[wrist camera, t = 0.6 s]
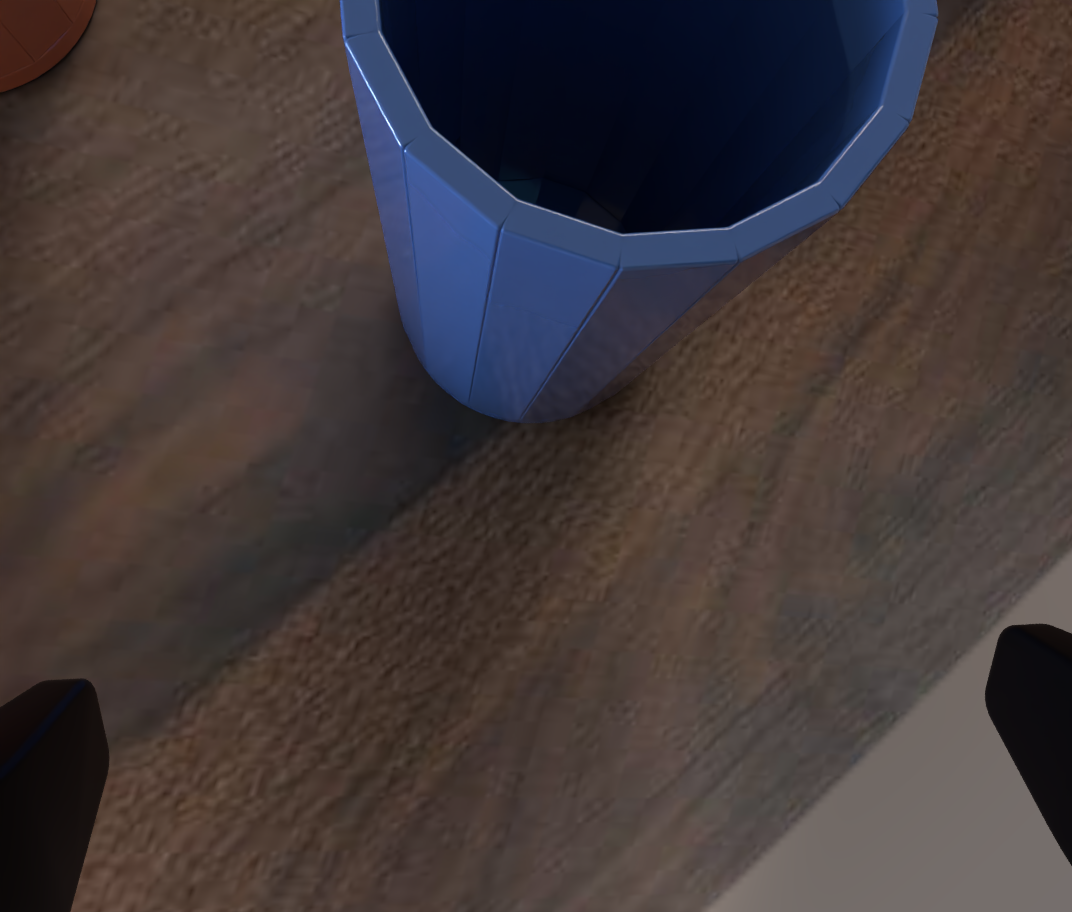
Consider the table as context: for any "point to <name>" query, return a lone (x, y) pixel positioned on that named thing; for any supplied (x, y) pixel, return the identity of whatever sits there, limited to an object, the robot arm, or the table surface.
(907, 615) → the table surface
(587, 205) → the blue cup
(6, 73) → the terracotta cup
